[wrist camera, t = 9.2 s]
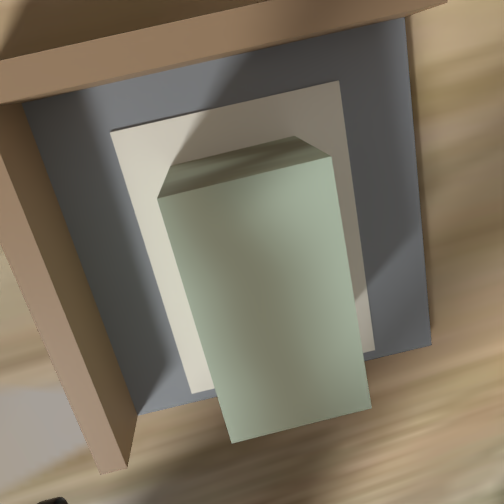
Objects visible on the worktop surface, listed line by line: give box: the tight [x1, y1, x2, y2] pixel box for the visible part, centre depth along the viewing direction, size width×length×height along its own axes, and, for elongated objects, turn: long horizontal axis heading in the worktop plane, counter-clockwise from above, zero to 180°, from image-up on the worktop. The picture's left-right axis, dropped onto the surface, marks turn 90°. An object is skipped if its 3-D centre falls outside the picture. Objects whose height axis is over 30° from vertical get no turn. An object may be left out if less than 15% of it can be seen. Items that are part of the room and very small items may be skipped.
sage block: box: [157, 136, 372, 443], centre depth 15 cm, size 4×8×5 cm, turn 13°
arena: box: [0, 0, 447, 475], centre depth 16 cm, size 14×14×4 cm
